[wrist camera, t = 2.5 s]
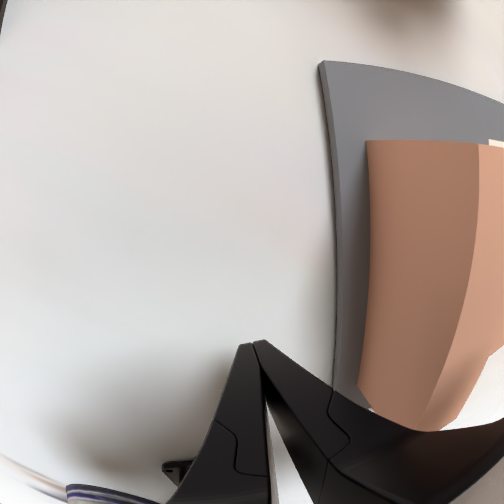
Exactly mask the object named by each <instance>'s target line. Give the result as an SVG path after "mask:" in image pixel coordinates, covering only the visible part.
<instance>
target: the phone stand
mask: <svg viewBox="0 0 504 504" xmlns="http://www.w3.org/2000/svg"><path fill="white" fill-rule="evenodd" d="M6 4H7V0H0V33H1V28H2V22H3V17H4V13H5V8H6Z"/></svg>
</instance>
